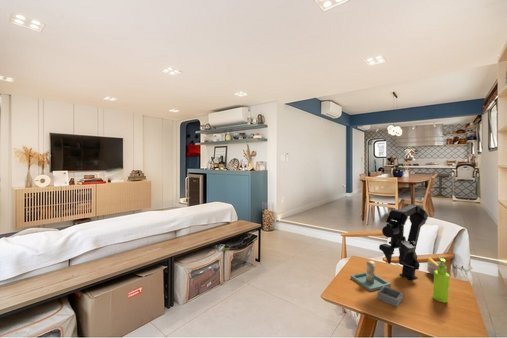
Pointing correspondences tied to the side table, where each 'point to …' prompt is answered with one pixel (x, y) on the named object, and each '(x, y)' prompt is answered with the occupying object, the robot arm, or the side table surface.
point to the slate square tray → (390, 296)
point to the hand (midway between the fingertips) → (395, 262)
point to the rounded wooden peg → (370, 272)
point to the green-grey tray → (361, 280)
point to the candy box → (432, 266)
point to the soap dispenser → (441, 282)
